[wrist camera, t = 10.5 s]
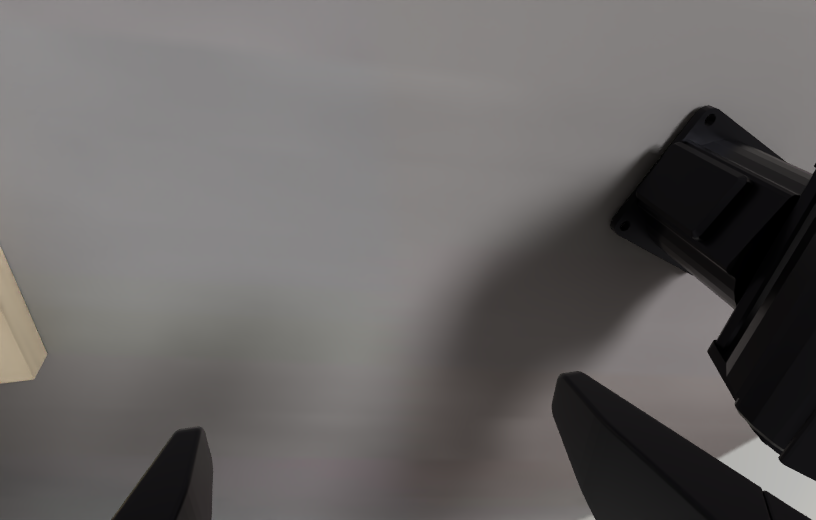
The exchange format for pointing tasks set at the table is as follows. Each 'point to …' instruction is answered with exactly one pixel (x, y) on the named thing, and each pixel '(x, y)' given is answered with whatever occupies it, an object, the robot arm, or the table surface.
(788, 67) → the table surface
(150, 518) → the robot arm
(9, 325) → the base
